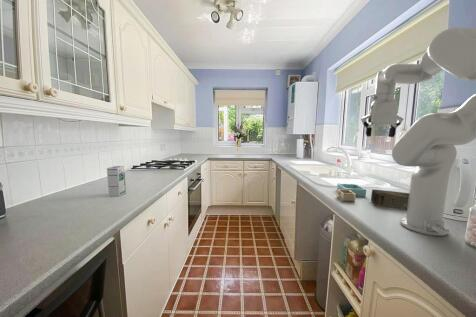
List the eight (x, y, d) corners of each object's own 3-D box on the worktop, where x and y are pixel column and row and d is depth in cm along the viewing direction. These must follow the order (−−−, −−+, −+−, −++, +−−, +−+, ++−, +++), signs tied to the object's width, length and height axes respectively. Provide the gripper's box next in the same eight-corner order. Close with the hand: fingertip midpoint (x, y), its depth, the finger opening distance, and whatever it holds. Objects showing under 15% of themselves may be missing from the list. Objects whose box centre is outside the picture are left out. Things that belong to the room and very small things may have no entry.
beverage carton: (425, 212, 91) (427, 197, 90) (373, 206, 97) (375, 192, 96) (416, 206, 98) (418, 192, 97) (369, 201, 105) (370, 188, 104)
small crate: (354, 201, 102) (355, 193, 102) (341, 201, 103) (342, 193, 102) (349, 197, 109) (349, 190, 109) (337, 196, 110) (337, 189, 109)
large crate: (365, 196, 111) (366, 189, 110) (344, 195, 112) (345, 188, 111) (356, 190, 122) (356, 184, 122) (337, 190, 123) (337, 183, 123)
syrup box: (119, 196, 105) (118, 167, 103) (108, 196, 105) (106, 167, 103) (126, 193, 111) (124, 166, 109) (115, 192, 111) (113, 165, 109)
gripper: (367, 97, 92) (363, 136, 95) (411, 97, 89) (405, 137, 92) (360, 99, 99) (356, 135, 102) (400, 99, 97) (395, 136, 99)
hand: (379, 136), depth 97 cm, fingers open, 9 cm apart
